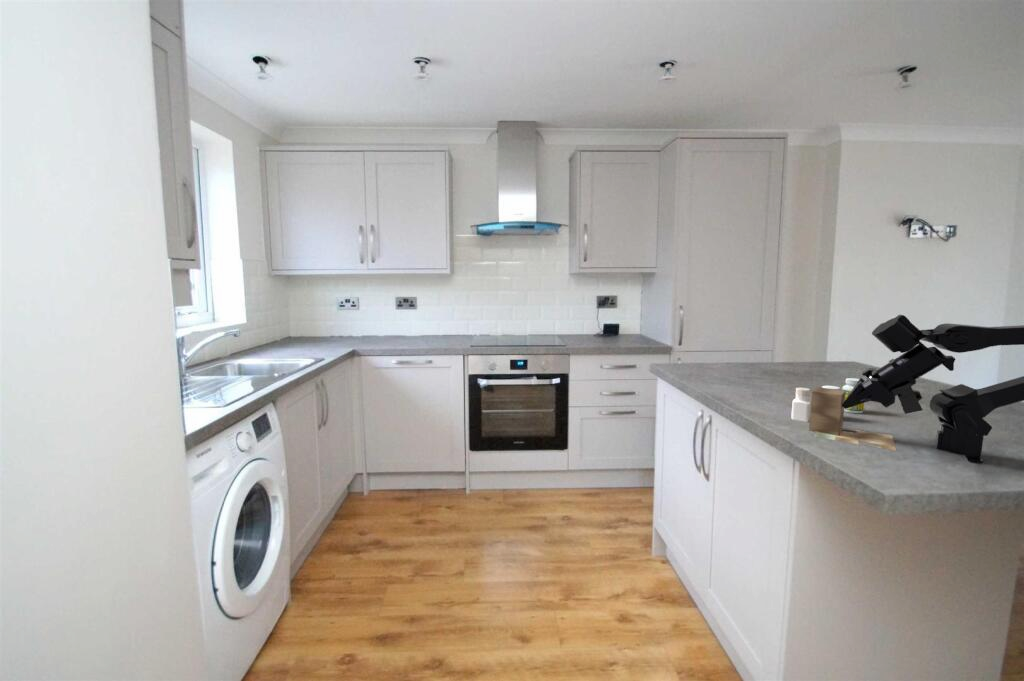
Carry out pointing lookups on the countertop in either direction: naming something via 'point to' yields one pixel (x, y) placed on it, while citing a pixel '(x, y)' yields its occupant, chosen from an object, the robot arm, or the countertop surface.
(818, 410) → the walnut block
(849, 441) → the trap board
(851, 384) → the supplement bottle
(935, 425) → the countertop surface
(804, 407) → the white square pill bottle
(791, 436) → the countertop surface
